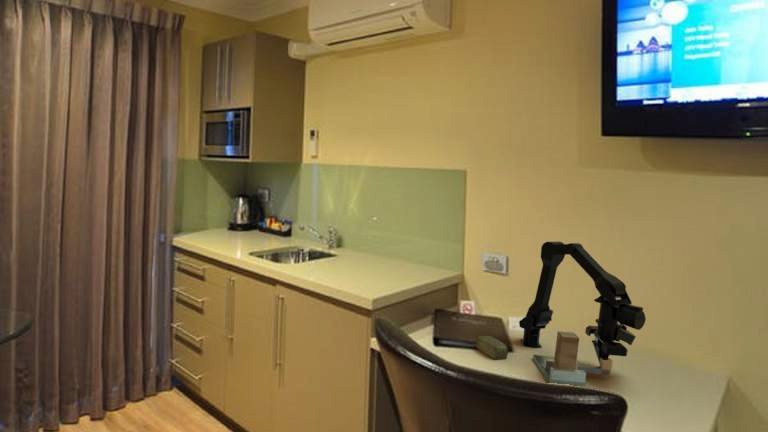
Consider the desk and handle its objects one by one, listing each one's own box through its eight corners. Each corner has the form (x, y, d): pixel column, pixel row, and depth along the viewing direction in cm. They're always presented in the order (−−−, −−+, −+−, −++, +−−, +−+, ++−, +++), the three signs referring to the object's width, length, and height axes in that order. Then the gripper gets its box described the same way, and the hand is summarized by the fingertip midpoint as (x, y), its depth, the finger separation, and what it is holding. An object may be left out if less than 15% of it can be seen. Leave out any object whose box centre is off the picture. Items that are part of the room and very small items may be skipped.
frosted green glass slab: (532, 359, 168) (534, 346, 168) (565, 362, 168) (566, 349, 167) (549, 384, 149) (550, 369, 148) (586, 387, 148) (587, 373, 148)
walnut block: (552, 370, 155) (557, 330, 154) (568, 372, 155) (573, 332, 154) (557, 377, 150) (562, 336, 149) (574, 378, 150) (579, 337, 149)
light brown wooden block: (543, 366, 157) (544, 352, 157) (608, 372, 157) (610, 358, 156) (545, 369, 155) (546, 354, 155) (610, 375, 155) (612, 360, 154)
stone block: (494, 361, 164) (495, 346, 163) (474, 348, 174) (475, 335, 174) (508, 359, 166) (509, 345, 166) (487, 347, 177) (489, 333, 176)
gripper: (648, 331, 147) (640, 381, 149) (621, 311, 165) (614, 355, 167) (610, 328, 147) (603, 377, 149) (587, 308, 166) (581, 353, 168)
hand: (601, 365), depth 159 cm, fingers closed
